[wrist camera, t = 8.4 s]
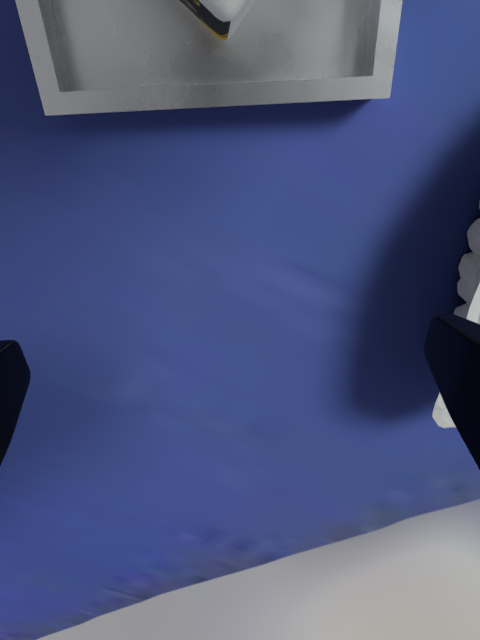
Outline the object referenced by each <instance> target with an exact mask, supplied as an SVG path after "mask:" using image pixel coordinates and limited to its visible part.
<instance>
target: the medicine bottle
mask: <svg viewBox="0 0 480 640" xmlns="http://www.w3.org/2000/svg"><path fill="white" fill-rule="evenodd" d="M179 1H180V2H181V3H183V4H184V5H185V6H186V7H187V8H188V9H189V10H190V11H191V12H192V13H193V14H194V15H195V16H196V17H197V18H198V19H199V20H200V21H201V22H202V23H203V24H204V25H205V26H206V27H207V28H208V29H209V30H210V31H211V32H212V33H213V34H215V35H216V36H217V37H218V38H219V39H221V40H228V39H229V38H230V37H231V36H232V34H233V33H234V31H235V30H236V28H237V27H238V25H239V24H240V22H241V21H242V19H243V18H244V16H245V15H246V13H247V12H248V10H249V9H250V7H251V6H252V4H253V2H254V1H255V0H179Z"/></svg>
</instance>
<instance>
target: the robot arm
mask: <svg viewBox="0 0 480 640" xmlns="http://www.w3.org/2000/svg"><path fill="white" fill-rule="evenodd" d="M424 353H425V357H426V360H427V362H428V365H429V367H430V370H431V372H432V375H433V377H434V379H435V382H436V384H437V387H438V389H439V392H440V394H441V396H442V399H443V401H444V404H445V406H446V408H447V410H448V413H449V415H450V417H451V419H452V420H453V422H454V424H455V426H456V428H457V430H458V432H459V433H460V435H461V437H462V439H463V441H464V442H465V444H466V446H467V448H468V450H469V451H470V453H471V455H472V457H473V459H474V460H475V462H476V464H477V466H478V468H479V469H480V324H478V323H475V322H473V321H470V320H468V319H465V318H463V317H460V316H457V315H455V314H441V315H435V316H433V317H432V319H431V321H430V324H429V329H428V333H427V337H426V341H425V346H424ZM29 383H30V370H29V367H28V364H27V362H26V359H25V357H24V354H23V352H22V349H21V347H20V345H19V343H18V342H16V341H15V340H2V341H0V465H1V463H2V461H3V458H4V456H5V454H6V452H7V449H8V447H9V444H10V442H11V439H12V436H13V433H14V431H15V427H16V424H17V421H18V418H19V415H20V411H21V408H22V405H23V402H24V399H25V395H26V392H27V389H28V386H29Z"/></svg>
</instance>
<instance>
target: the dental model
mask: <svg viewBox="0 0 480 640" xmlns="http://www.w3.org/2000/svg"><path fill="white" fill-rule="evenodd" d="M479 209H480V202H479ZM467 238H468V243H469V248H470V249H471V250H472V251H473V252H470V253H468V254H464V255H463V257H462V259H461V261H460V264H459V267H458V269H459V273H460V280H459V281H458V283H457V291H458V295H459V296H460V297H462V298H463V299H464V300H465V301H466V302H467V303H465V304H463V305H461V306H459V307H457V308H455V310H454V314H455V315H457V316H460V317H463V318H465V319H468V320H470V321H473V322H475V323H478V324H480V218H479V219H477V220H475V222H474V223H473V224H472V225H471V226H470V227H469V229H468V231H467ZM432 416H433V419H434V420H435V421H436V423H437V424H438V425H439V426H440V427H443V428H449V427H455V428H456V426H455V424H454V422H453V420H452V419H451V417H450V415H449V413H448V410H447V408H446V406H445V404H444V401H443V399H442V396H441V394H440V393H439V396H438V398H437V400H436V403H435V406H434V410H433V414H432Z"/></svg>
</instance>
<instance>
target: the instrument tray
mask: <svg viewBox="0 0 480 640" xmlns="http://www.w3.org/2000/svg"><path fill="white" fill-rule="evenodd" d="M402 1H403V0H255V1H254V2H253V4H252V6H251V7H250V9H249V10H248V12H247V13H246V15H245V16H244V18H243V19H242V21H241V22H240V24H239V25H238V27H237V28H236V30H235V31H234V33H233V34H232V36H231V37H230V38H229V39H228V40H221V39H219V38H218V37H217V36H216V35H215V34H213V33H212V32H211V31H210V30H209V29H208V28H207V27H206V26H205V25H204V24H203V23H202V22H201V21H200V20H199V19H198V18H197V17H196V16H195V15H194V14H193V13H192V12H191V11H190V10H189V9H188V8H187V7H186V6H185V5H184V4H183V3H181V2H180V1H179V0H15V2H16V6H17V9H18V13H19V17H20V21H21V25H22V29H23V32H24V36H25V40H26V44H27V48H28V52H29V55H30V59H31V63H32V67H33V71H34V74H35V78H36V82H37V86H38V90H39V94H40V97H41V101H42V105H43V109H44V113H45V116H49V115H69V114H88V113H108V112H127V111H146V110H166V109H185V108H205V107H224V106H243V105H263V104H282V103H302V102H321V101H340V100H360V99H379V98H390V93H391V85H392V78H393V70H394V62H395V54H396V47H397V39H398V31H399V24H400V16H401V8H402Z"/></svg>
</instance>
